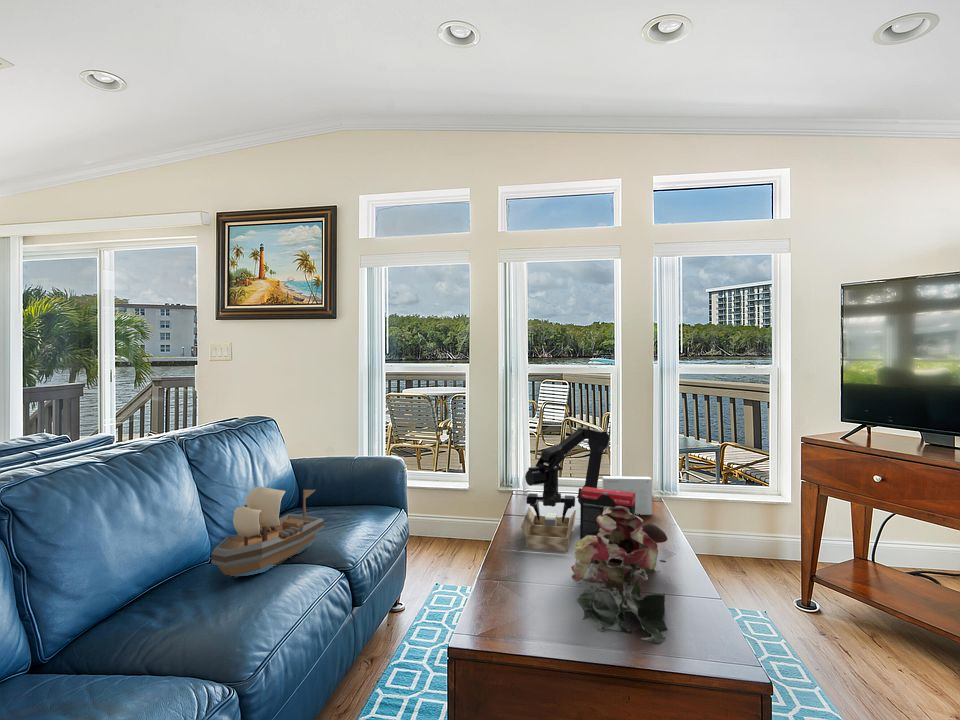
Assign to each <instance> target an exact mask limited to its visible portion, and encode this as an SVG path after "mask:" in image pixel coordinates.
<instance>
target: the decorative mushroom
mask: <svg viewBox="0 0 960 720" xmlns="http://www.w3.org/2000/svg"><path fill="white" fill-rule="evenodd" d="M642 528H643V531H644V532H645V533H647V535H648V536H649V537H650V538H651V539H652V540H653V541H654V542H656V544H662V543H665V542H667V541H668V539H669V538H668V536H667V534H666V533H665V531H663V530H662V529H661V528H660V527H658V526H657V525H655V524H652V523H646V524H644V525H643V524H642ZM656 567H657V561H656V562H655V563H654V567H653V569H651V570H655V568H656Z"/></svg>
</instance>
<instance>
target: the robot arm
mask: <svg viewBox="0 0 960 720" xmlns="http://www.w3.org/2000/svg"><path fill="white" fill-rule="evenodd" d="M586 439H587V444H588V446H589V456H588V464H587V470H586V475H585V480H584V481H585V482H584V485H583V486H582V488H581V487H579V488H578V493H577V496H576V497H575V496H574V495H564V497H562V493H561V492H560V493H559V471H563V470H564V468H562V466H561V465H560V464H561V463H562V462H563V461H564V459H565V456H566V455H567V454H568V453H569V452H571V451H572V450H573V449H574V448H575V447H577V446H579V444H581V443H582V442H583V441H584V440H586ZM609 441H610V435H609V433H608V432H607V431H605V430H600V429H596V428H595V429H589V428H587V427H581V426H580V427H578V428H577V429H576V430H575V431H574V432H572V433H571V434H570V435H569V436H568V437H566V438H565V439H564V440H562V441H561V442H560V443H558V444H555V445H553V446H550V447H548V448H545V449H544V450H542V452H541V453H540V454H541V456H540V457H539V458H538V460H537V462H536V464H535V467H532V466H530V467H528V468H527V471H526V473H525V476H524V477H525V483H526V484H527V485H528V486H529V487H530V486H536V485H543V490H542V496H539V495H538V493H528V494H527V496H526V501H525V502H526V505H529V507H532V508H533V510H534V511H535V515H537V518H538V521H540V514H541V513H540V503H541V502H542V505H543V506H544V507H548V506H549V507H551V508H553V507H556V505H557V504H563V509H562V516H561V517H562V523H563V521H564V518H565V517H566V515H567V512H568V510H569V509H572V507H573V508H574V507H575V506H576V498H577V502H578V504H579V505H580V506H581V492H580V491H581V490H582V489H583V488H584V487H592V488H598V482H599V476H600V470H601V463H602V458H603V453H604V452H605V450H606V449H607V448H608V445H609Z"/></svg>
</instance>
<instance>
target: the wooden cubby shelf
mask: <svg viewBox="0 0 960 720" xmlns="http://www.w3.org/2000/svg"><path fill="white" fill-rule="evenodd" d="M545 517H546V515H540V521H538V518H537V515H536V514H534V512H533V511H532V509H531V506H528V509H527V510H526V513H525V515H524V518H523V521H522V523H521V525H520V529H521V531H522V532H523V534H524V536H525V549H531V550H542V551H543V550H544V551H553V552H554V551H557V552H569V547H570V540H571V539H570V538H571V536H572V534H573V533H574V528H575V522H576V521H575V519H576V509H575V510H574V511H573V512H572V514H571V516H570V517H569V516H565V518H564V521H563V523H562V516H557V526H545Z"/></svg>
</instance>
